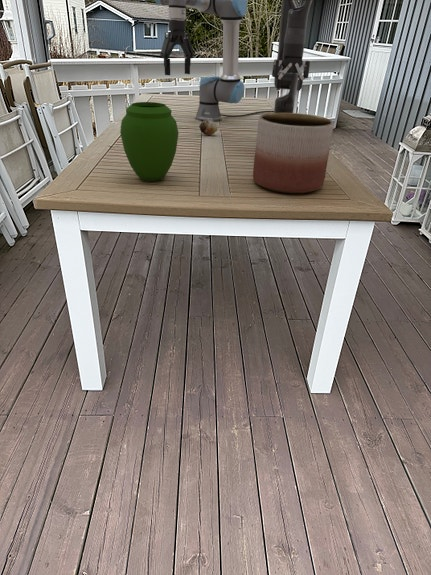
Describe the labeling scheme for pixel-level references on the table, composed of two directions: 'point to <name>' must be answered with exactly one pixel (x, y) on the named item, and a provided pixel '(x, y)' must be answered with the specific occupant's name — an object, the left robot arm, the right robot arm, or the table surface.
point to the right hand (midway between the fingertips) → (288, 90)
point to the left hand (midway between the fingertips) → (177, 74)
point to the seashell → (208, 127)
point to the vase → (149, 139)
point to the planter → (292, 152)
